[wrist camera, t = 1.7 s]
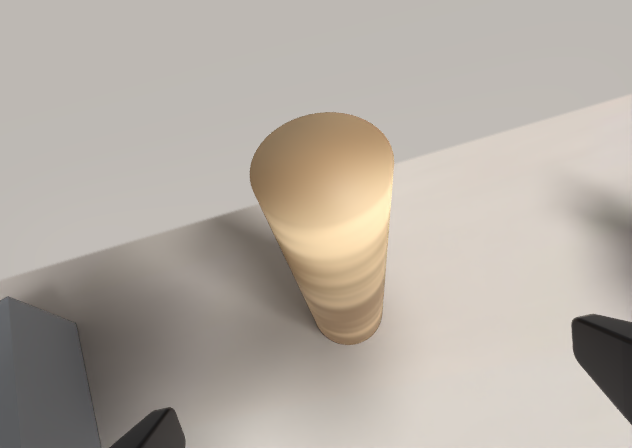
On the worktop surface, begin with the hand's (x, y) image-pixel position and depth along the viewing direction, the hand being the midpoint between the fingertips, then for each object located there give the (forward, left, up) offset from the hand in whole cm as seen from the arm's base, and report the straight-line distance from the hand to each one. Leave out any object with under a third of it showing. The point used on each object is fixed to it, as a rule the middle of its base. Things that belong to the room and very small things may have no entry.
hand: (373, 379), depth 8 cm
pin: (+5, -2, -12) cm, 13 cm away
